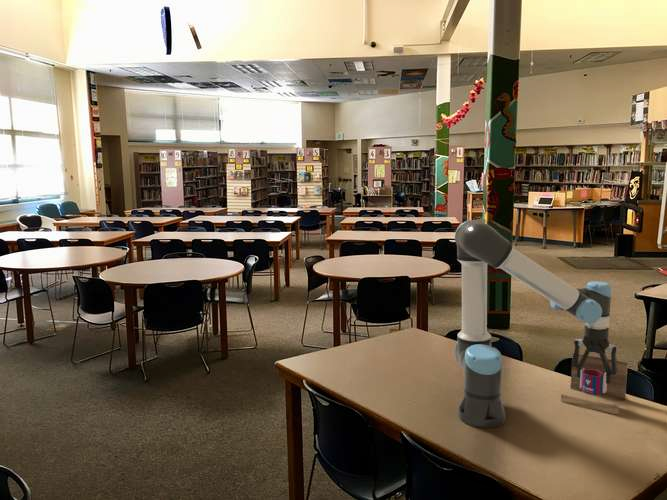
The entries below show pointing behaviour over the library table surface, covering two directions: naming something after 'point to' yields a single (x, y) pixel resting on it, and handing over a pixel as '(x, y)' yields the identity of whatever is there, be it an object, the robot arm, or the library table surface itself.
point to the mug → (592, 381)
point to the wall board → (595, 363)
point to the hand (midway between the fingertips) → (592, 389)
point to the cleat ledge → (589, 404)
